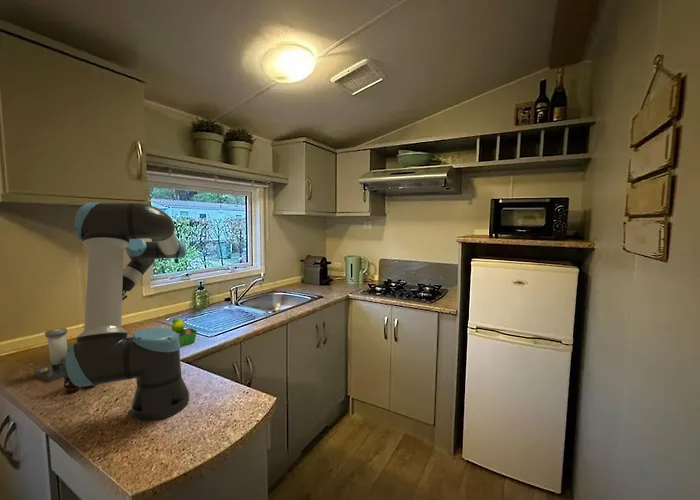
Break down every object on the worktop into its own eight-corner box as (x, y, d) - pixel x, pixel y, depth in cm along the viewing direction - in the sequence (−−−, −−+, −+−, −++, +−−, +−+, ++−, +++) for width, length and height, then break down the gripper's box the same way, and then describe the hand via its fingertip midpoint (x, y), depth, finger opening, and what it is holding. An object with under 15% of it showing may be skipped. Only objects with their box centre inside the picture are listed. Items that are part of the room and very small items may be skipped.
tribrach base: (49, 382, 113) (48, 366, 113) (34, 375, 118) (32, 360, 117) (86, 368, 123) (85, 354, 123) (70, 362, 128) (69, 349, 127)
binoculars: (62, 370, 102) (61, 356, 109) (65, 400, 104) (64, 385, 111) (98, 361, 108) (95, 349, 115) (100, 390, 110) (97, 376, 117)
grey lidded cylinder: (54, 366, 116) (49, 334, 115) (45, 363, 119) (41, 331, 117) (74, 359, 122) (70, 328, 120) (65, 356, 124) (61, 326, 123)
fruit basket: (172, 350, 140) (171, 324, 138) (163, 345, 145) (161, 320, 144) (198, 342, 149) (197, 318, 147) (188, 337, 154) (187, 314, 153)
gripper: (143, 285, 141) (104, 335, 128) (125, 283, 147) (85, 331, 133) (130, 275, 136) (87, 326, 122) (111, 273, 141) (68, 322, 128)
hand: (86, 328), depth 128 cm, fingers closed
